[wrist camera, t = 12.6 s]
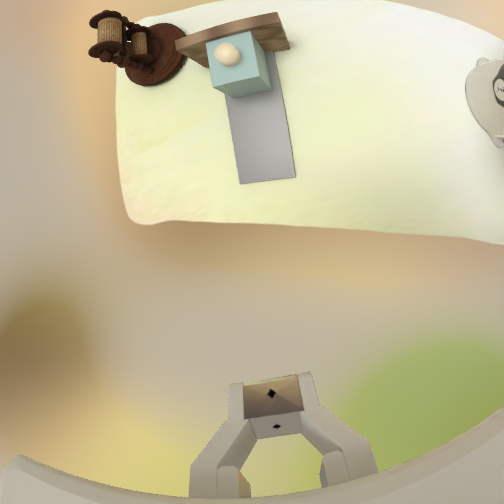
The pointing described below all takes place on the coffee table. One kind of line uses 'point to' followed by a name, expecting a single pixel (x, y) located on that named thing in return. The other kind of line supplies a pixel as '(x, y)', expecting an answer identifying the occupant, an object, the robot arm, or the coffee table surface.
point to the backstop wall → (261, 27)
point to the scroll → (137, 47)
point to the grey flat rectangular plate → (261, 132)
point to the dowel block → (238, 65)
